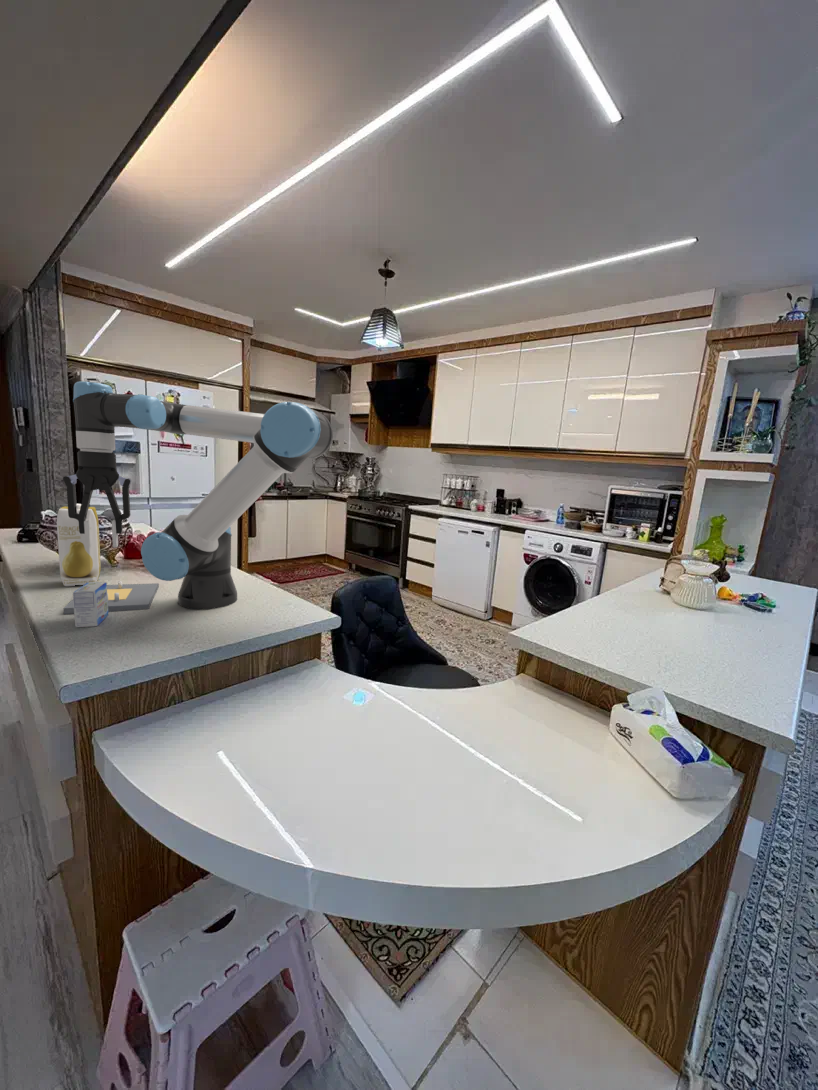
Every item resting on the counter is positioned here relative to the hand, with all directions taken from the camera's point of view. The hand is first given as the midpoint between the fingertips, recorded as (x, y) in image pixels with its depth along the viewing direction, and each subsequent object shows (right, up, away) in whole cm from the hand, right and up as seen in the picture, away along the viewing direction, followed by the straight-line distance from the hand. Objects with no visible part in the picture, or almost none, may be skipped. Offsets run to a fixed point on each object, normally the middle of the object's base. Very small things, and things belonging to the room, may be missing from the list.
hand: (102, 546), depth 108 cm
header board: (-4, -15, +11) cm, 19 cm away
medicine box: (+1, -18, -4) cm, 19 cm away
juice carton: (-22, -11, +22) cm, 33 cm away
